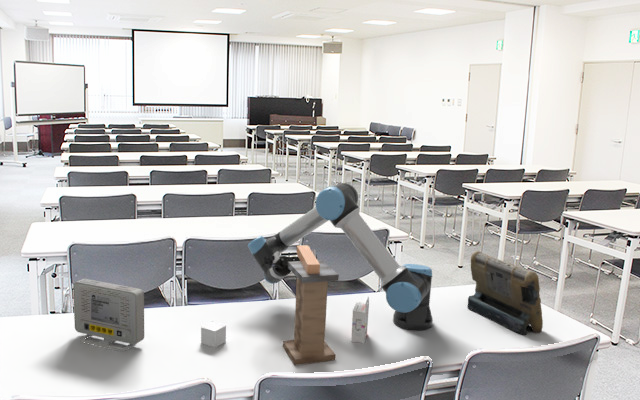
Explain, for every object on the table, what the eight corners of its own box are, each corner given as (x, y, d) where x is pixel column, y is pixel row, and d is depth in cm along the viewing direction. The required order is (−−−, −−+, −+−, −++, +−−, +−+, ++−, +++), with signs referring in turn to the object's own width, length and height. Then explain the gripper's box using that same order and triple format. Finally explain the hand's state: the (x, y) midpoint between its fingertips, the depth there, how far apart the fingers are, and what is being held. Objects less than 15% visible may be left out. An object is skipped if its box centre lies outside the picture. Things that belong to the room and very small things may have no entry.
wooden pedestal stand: (282, 345, 196) (285, 262, 191) (319, 340, 201) (324, 259, 196) (295, 366, 182) (299, 277, 176) (336, 361, 187) (341, 274, 181)
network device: (148, 343, 193) (148, 287, 189) (132, 354, 185) (131, 296, 181) (87, 329, 201) (85, 276, 197) (69, 339, 193) (66, 283, 189)
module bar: (296, 253, 201) (296, 245, 200) (307, 253, 202) (308, 245, 201) (307, 273, 180) (307, 264, 179) (319, 273, 181) (319, 264, 180)
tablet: (548, 330, 220) (556, 269, 215) (526, 338, 212) (534, 274, 208) (481, 302, 246) (487, 247, 242) (459, 308, 239) (465, 251, 234)
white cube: (214, 348, 192) (214, 331, 191) (201, 343, 195) (201, 327, 194) (225, 341, 197) (226, 325, 196) (212, 337, 200) (212, 321, 199)
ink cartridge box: (353, 332, 210) (356, 294, 207) (367, 333, 209) (369, 295, 206) (350, 341, 202) (352, 302, 199) (364, 343, 201) (366, 304, 198)
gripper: (313, 274, 222) (331, 262, 203) (250, 279, 214) (263, 266, 195) (310, 255, 224) (328, 242, 205) (248, 259, 216) (261, 245, 197)
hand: (296, 253), depth 200 cm, fingers open, 13 cm apart
